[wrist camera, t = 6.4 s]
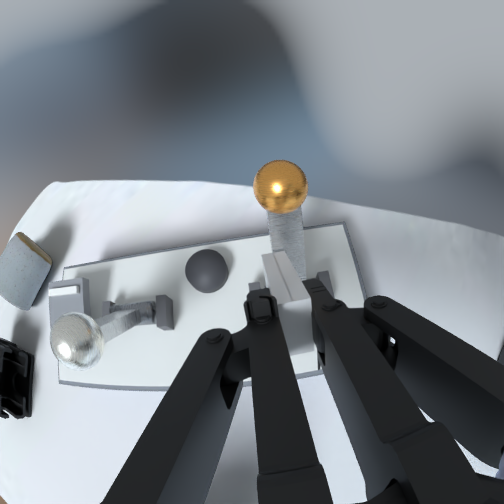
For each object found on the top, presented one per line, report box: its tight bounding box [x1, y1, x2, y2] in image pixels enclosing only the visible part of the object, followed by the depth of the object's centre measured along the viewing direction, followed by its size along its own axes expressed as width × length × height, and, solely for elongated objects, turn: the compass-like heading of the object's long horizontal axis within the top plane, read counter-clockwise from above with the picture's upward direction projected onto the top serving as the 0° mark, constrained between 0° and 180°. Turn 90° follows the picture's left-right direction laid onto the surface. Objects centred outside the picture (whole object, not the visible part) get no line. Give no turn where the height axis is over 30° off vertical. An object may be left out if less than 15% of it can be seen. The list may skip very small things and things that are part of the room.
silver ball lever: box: [50, 300, 156, 371], centre depth 15 cm, size 3×4×10 cm
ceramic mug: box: [0, 232, 52, 311], centre depth 26 cm, size 11×8×8 cm
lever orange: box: [253, 160, 316, 288], centre depth 17 cm, size 3×4×10 cm
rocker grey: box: [49, 277, 91, 329], centre depth 19 cm, size 6×4×1 cm
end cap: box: [0, 338, 34, 419], centre depth 20 cm, size 10×7×7 cm
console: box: [58, 222, 367, 391], centre depth 22 cm, size 12×28×7 cm, turn 97°
